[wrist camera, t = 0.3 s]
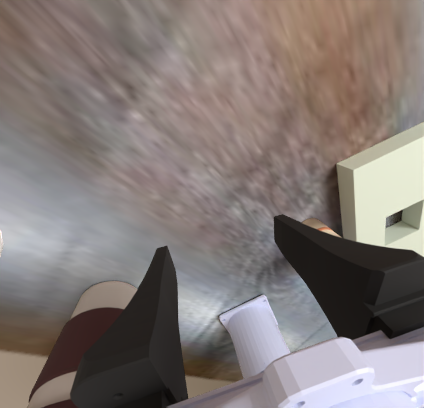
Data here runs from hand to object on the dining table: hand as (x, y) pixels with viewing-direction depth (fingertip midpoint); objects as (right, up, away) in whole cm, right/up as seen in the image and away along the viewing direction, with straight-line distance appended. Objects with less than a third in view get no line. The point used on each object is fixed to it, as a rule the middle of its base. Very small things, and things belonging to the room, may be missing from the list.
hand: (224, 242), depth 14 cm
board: (+25, +1, +17) cm, 30 cm away
